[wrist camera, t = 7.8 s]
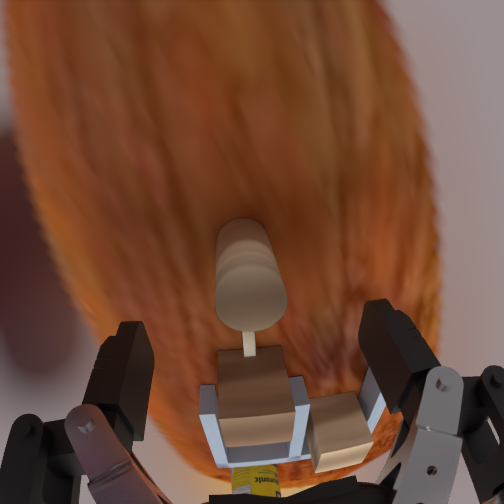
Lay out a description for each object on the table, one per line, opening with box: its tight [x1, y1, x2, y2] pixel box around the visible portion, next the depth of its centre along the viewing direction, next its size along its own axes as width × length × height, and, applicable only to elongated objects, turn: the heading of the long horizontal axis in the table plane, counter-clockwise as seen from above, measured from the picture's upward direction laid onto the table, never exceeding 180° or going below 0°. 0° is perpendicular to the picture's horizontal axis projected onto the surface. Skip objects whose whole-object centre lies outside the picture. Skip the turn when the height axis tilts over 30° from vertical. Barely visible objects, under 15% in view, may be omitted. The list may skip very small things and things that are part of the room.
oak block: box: [305, 391, 374, 473], centre depth 24 cm, size 5×5×6 cm
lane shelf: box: [199, 367, 386, 468], centre depth 25 cm, size 11×16×3 cm
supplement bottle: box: [230, 463, 281, 497], centre depth 27 cm, size 5×5×10 cm
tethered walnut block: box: [215, 218, 296, 447], centre depth 18 cm, size 14×5×6 cm, turn 2°
